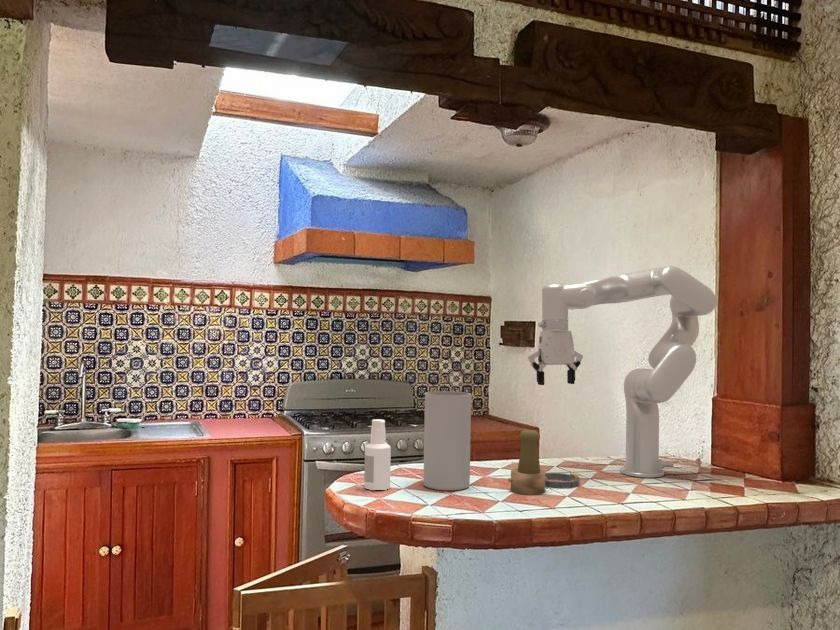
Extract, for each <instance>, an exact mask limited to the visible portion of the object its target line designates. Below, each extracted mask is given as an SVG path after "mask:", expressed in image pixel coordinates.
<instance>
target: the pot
mask: <svg viewBox="0 0 840 630" xmlns="http://www.w3.org/2000/svg"><path fill="white" fill-rule="evenodd" d="M545 473H546V472H545V471H544V470H541V469H540V473H538V474H524V473H520V472H518V468H513V469H511V470H510V477H508V478H507V480H508V482H509V483H510V492H512V493H515V494H519V495H524V496H525V495H526V496H527V495H528V496H534V495H535V496H537V495H542V494H545V492H546V487H545V481H547V480H548V479H547V477H545Z"/></svg>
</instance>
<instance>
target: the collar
mask: <svg viewBox="0 0 840 630" xmlns="http://www.w3.org/2000/svg"><path fill="white" fill-rule="evenodd" d="M545 477H547V481H545V488H550V487H551V488H552V489H572V488H577V487H579V486H580V475H578V474H577V473H575V472H574V473H569V474H567V473H562V472H561V473H560V472H545ZM557 480H560V481H557Z"/></svg>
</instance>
